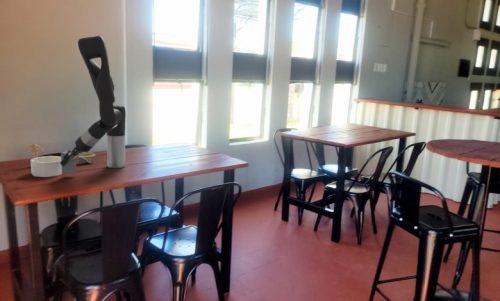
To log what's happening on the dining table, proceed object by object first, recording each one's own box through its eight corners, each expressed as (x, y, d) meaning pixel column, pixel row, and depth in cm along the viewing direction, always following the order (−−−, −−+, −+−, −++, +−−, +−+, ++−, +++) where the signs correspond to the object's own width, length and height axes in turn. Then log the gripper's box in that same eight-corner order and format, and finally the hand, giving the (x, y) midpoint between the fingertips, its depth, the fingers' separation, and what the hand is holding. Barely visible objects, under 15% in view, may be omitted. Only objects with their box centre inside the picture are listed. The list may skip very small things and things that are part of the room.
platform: (106, 164, 213) (106, 152, 212) (73, 168, 201) (72, 156, 200) (98, 159, 222) (98, 148, 220) (65, 163, 209) (65, 152, 208)
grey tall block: (67, 170, 186) (66, 150, 184) (76, 171, 185) (75, 151, 183) (61, 173, 181) (60, 152, 179) (71, 174, 181) (70, 153, 179)
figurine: (27, 168, 196) (26, 145, 193) (25, 165, 200) (24, 142, 198) (45, 166, 201) (44, 143, 198) (43, 163, 205) (41, 141, 203)
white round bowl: (43, 168, 196) (42, 155, 194) (69, 170, 195) (68, 157, 193) (25, 175, 182) (24, 161, 181) (53, 177, 181) (52, 163, 180)
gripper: (90, 131, 186) (67, 154, 189) (74, 136, 172) (50, 161, 175) (100, 143, 186) (78, 165, 190) (86, 149, 172) (61, 173, 176)
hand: (64, 163), depth 183 cm, fingers closed on grey tall block, 4 cm apart
